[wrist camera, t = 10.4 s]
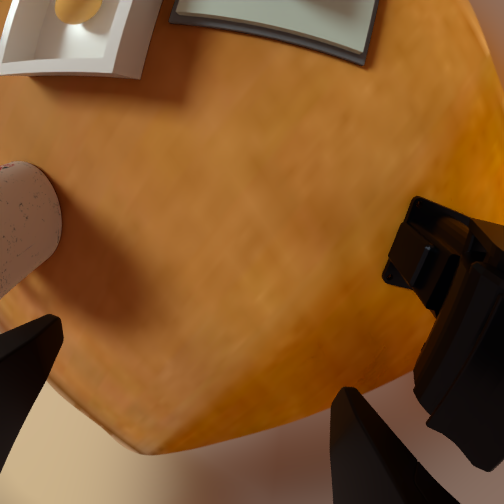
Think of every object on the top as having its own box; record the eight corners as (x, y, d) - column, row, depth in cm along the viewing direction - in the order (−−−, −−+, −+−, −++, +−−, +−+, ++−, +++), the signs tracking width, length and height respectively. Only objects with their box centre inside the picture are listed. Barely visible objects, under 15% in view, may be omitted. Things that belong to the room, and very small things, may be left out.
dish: (181, -50, 13) (165, -78, 9) (140, 79, 17) (112, 73, 13) (63, -38, 12) (34, -53, 8) (27, 76, 16) (-8, 75, 13)
